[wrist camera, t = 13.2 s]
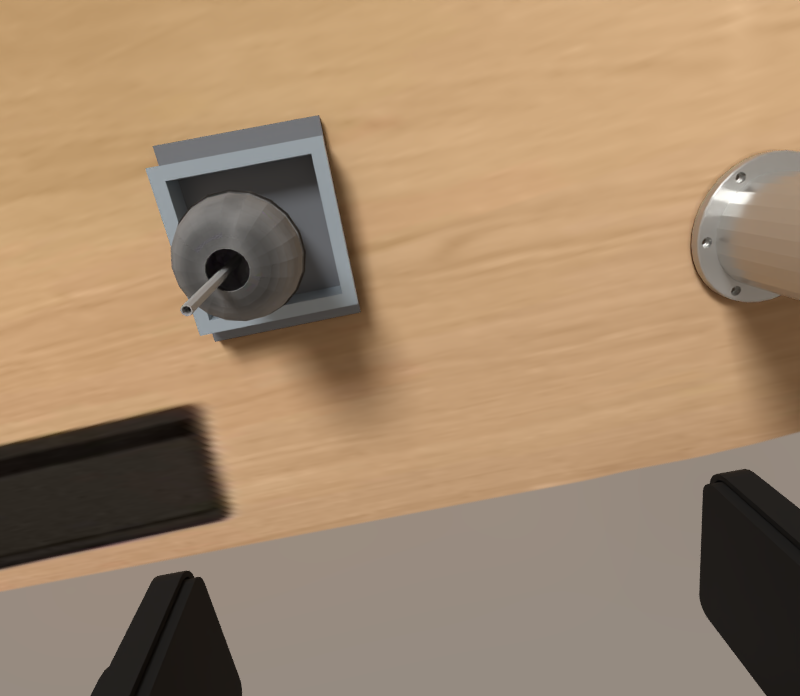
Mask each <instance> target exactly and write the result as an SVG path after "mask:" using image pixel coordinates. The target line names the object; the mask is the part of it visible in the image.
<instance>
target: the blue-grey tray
mask: <svg viewBox="0 0 800 696" xmlns="http://www.w3.org/2000/svg"><path fill="white" fill-rule="evenodd" d="M153 148H154V152H155V155H156V158H157V161H158V164H159V166H156V167H151V168H146V172H147V175H148V178H149V181H150V184H151V187H152V190H153V193H154V196H155V199H156V202H157V205H158V208H159V211H160V214H161V218H162V221H163V224H164V227H165V230H166V233H167V236H168V239H169V242H170V245H172V242H173V238H174V235H175V232H176V228H177V225H178V222H179V221H180V220H181V218H182V217H183V216H184V214H185V213H186V212H187V210H188V209H189V208H190V206H191V205H193V204H194V203H196V202H198V201H199V200H201V199H202V198H204V197H205V196H207V195H208V194H212V193H217V192H221V191H225V190H241V191H251V192H254V193H256V194H259V195H261V196H263V197H266V198H268V199H271V200H272V201H273V202H275V203H276V204H277V205H278V206H279V207H281V208H282V209H283V210H284V211H286V212H287V213H288V214H289V216H290V217H291V219H292V220H293V222H294V223H295V225H296V226H297V228H298V229H299V231H300V233H301V237H302V240H303V244H304V247H305V250H306V260H305V273H304V276H303V278H302V281H301V284H300V286H299V289H298V290H297V292H296V293H295V294H294V295H293V297H292V298H291V299H290V300H289V301H288V303H287V304H286V305H284V306H282V307H281V308H279V309H278V310H276V311H275V312H273V313H271V314H269V315H267V316H265V317H261V318H257V319H253V320H249V321H231V320H224V319H221V318H219V317H216V316H213V315H210V314H208V313H206V312H205V311H203V310H202V309H200V308H199V307H198V308H197V309H196V310H195V311H194V313H193V315H194V319H195V322H196V325H197V328H198V331H199V334H200V336H201V335H206V334H211V333H212V334H213V337H214V340H215V342H216V341H221V340H226V339H231V338H236V337H240V336H245V335H250V334H255V333H260V332H265V331H270V330H275V329H280V328H285V327H290V326H295V325H300V324H305V323H310V322H315V321H320V320H324V319H329V318H334V317H339V316H344V315H349V314H354V313H359V312H361V311H360V305H359V301H358V296H357V291H356V287H355V282H354V277H353V272H352V268H351V263H350V258H349V254H348V249H347V244H346V240H345V235H344V230H343V225H342V221H341V216H340V211H339V207H338V202H337V197H336V192H335V188H334V183H333V178H332V174H331V169H330V164H329V159H328V155H327V150H326V145H325V141H324V136H323V131H322V126H321V122H320V117H319V115H318V116H312V117H307V118H301V119H296V120H291V121H285V122H280V123H275V124H269V125H264V126H259V127H253V128H248V129H242V130H237V131H232V132H226V133H221V134H216V135H210V136H205V137H200V138H194V139H189V140H183V141H178V142H173V143H167V144H162V145H157V146H153ZM188 300H189V298H188Z"/></svg>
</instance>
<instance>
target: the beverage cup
mask: <svg viewBox="0 0 800 696" xmlns="http://www.w3.org/2000/svg"><path fill="white" fill-rule="evenodd" d="M305 260H306V250H305V247H304V244H303V240H302V237H301V233H300V231H299V229H298V228H297V226H296V225H295V223H294V222H293V220H292V219H291V217H290V216H289V214H288V213H287V212H286V211H284V210H283V209H282V208H281V207H279V206H278V205H277V204H276V203H275V202H273V201H272V200H271V199H268V198H266V197H263V196H261V195H259V194H256V193H254V192H251V191H241V190H225V191H221V192H217V193H212V194H208V195H207V196H205V197H204V198H202V199H201V200H199V201H198V202H196V203H194V204H193V205H191V206H190V208H189V209H188V210H187V212H186V213H185V214H184V216H183V217H182V218H181V220H180V221H179V222H178V225H177V228H176V232H175V235H174V238H173V242H172V245H171V262H172V269H173V272H174V275H175V277H176V280H177V282H178V285H179V287H180V288H181V289H182V291H183V292H184V293H185V295H186V296H187V297H188V298H189V300H188V301H187V302H186V303H184V304H183V305H182V307H181V309H180V311H181V312H182V314H183V315H185V316H189V315H192V314H193V313H194V311H195V310H196V309H197V308H198V307H199V308H200V309H202V310H203V311H205V312H206V313H208V314H210V315H213V316H216V317H219V318H221V319H224V320H231V321H249V320H253V319H257V318H261V317H265V316H267V315H269V314H271V313H273V312H275V311H276V310H278V309H279V308H281V307H282V306H284V305H286V304H287V303H288V301H289V300H290V299H291V298H292V297H293V295H294V294H295V293H296V292H297V290H298V289H299V286H300V284H301V281H302V278H303V276H304V273H305Z"/></svg>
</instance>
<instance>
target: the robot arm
mask: <svg viewBox="0 0 800 696" xmlns="http://www.w3.org/2000/svg"><path fill="white" fill-rule="evenodd" d="M691 248H692V256H693V261H694V264H695V267H696V270H697V272H698V274H699V275H700V277H701V279H702V280H703V282H704V283H705V284H706V285H707V286H708V287H709V288H710V289H711V290H713V291H714V292H716V293H718V294H719V295H721V296H724V297H726V298H729V299H732V300H736V301H741V302H761V301H766V300H771V299H773V298H776V297H778V296H781V295H782V296H786V297H789V298H792V299H796V300H799V301H800V152H798V151H790V150H775V151H768V152H763V153H758V154H756V155H754V156H751V157H749V158H746V159H744V160H743V161H741V162H739V163H738V164H736V165H735V166H733V167H731V168H730V169H729V170H728V171H727V172H726V173H725V174H723V175H722V176H721V177H720V178H719V179H718V181H717V182H716V183H715V184H714V185H713V186H712V188H711V189H710V190H709V192H708V193H707V195H706V197H705V198H704V200H703V202H702V203H701V206H700V208H699V210H698V213H697V215H696V218H695V222H694V226H693V231H692V242H691ZM701 536H702V537H701V563H700V593H699V595H700V602H701V605H702V608H703V610H704V613H705V614H706V616H707V617H708V619H709V620H710V622H711V623H712V624H713V626H714V627H715V628H716V630H717V631H718V632H719V633H720V635H721V636H722V638H723V639H724V640H725V641H726V643H727V644H728V645H729V647H730V648H731V650H732V651H733V652H734V653H735V655H736V656H737V657H738V659H739V660H740V661H741V663H742V664H743V665H744V666H745V668H746V669H747V671H748V672H749V673H750V675H751V676H752V677H753V679H754V680H755V681H756V682H757V684H758V685H759V686H760V688H761V689H762V690H763V692H764V693H765V694H766V695H767V696H800V509H799V508H798V507H797V506H795V505H794V504H793V503H792V502H790V501H789V500H788V499H787V498H785V497H784V496H783V495H781V494H780V493H779V492H778V491H777V490H775V489H774V488H773V487H771V486H770V485H769V484H768V483H766V482H765V481H764V480H763V479H761V478H760V477H759V476H758V475H756V474H755V473H754V472H752V471H750V470H747V469H743V470H737V471H731V472H726V473H720V474H716V475H713V476H712V478H711V481H710V484H707V485H705V486H704V489H703V506H702V535H701ZM91 696H242V687H241V681H240V678H239V675H238V673H237V670H236V667H235V665H234V662H233V659H232V656H231V654H230V651H229V648H228V646H227V643H226V640H225V637H224V635H223V632H222V629H221V626H220V624H219V621H218V618H217V616H216V613H215V610H214V607H213V605H212V602H211V599H210V597H209V594H208V591H207V588H206V586H205V583H204V581H203V579H202V578H201V577H196V578H194V576H193V574H192V573H191V572H190V571H182V572H177V573H171V574H166V575H160V576H157V577H155V578H154V579H153V581H152V582H151V584H150V586H149V588H148V590H147V592H146V594H145V596H144V598H143V600H142V602H141V604H140V606H139V608H138V610H137V612H136V614H135V616H134V618H133V620H132V622H131V624H130V626H129V628H128V630H127V632H126V634H125V636H124V638H123V640H122V642H121V644H120V646H119V648H118V650H117V652H116V654H115V656H114V658H113V660H112V662H111V664H110V666H109V667H108V668H107V669H106V670H105V671H104V672H103V674H102V675H101V677H100V678H99V680H98V682H97V684H96V686H95V688H94V690H93V692H92V694H91Z"/></svg>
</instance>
